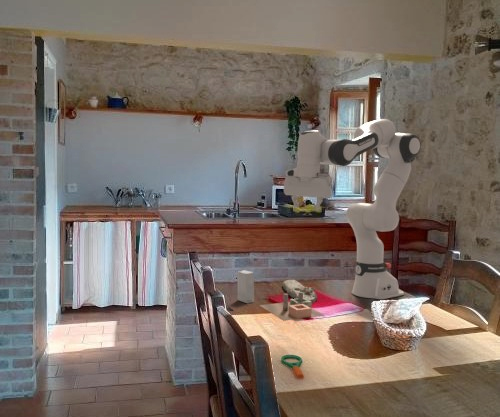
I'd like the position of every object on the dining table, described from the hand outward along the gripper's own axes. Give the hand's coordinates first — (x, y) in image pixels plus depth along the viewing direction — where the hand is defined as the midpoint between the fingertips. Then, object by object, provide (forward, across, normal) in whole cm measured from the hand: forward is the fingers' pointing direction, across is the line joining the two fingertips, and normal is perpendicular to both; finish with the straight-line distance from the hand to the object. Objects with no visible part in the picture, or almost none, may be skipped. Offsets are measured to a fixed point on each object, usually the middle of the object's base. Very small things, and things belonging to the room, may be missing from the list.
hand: (306, 208), depth 206 cm
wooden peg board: (+39, -3, +11) cm, 41 cm away
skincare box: (+39, +21, +10) cm, 46 cm away
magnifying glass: (+40, -33, +51) cm, 73 cm away
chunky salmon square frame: (+37, -8, +14) cm, 41 cm away
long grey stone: (+39, +11, -13) cm, 43 cm away
